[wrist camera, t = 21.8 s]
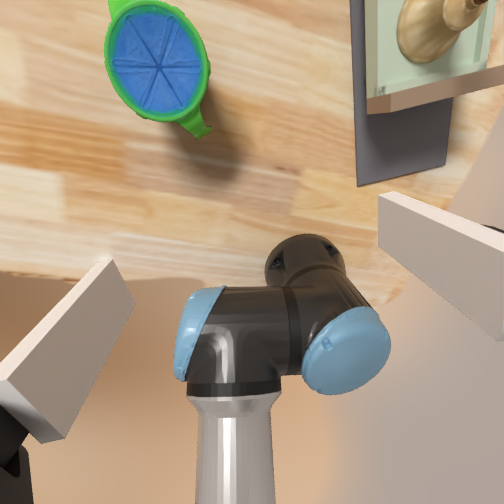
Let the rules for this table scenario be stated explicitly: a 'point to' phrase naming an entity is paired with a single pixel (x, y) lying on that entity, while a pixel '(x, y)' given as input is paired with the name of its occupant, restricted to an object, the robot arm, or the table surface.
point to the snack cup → (157, 62)
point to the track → (393, 123)
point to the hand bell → (434, 26)
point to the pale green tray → (423, 74)
